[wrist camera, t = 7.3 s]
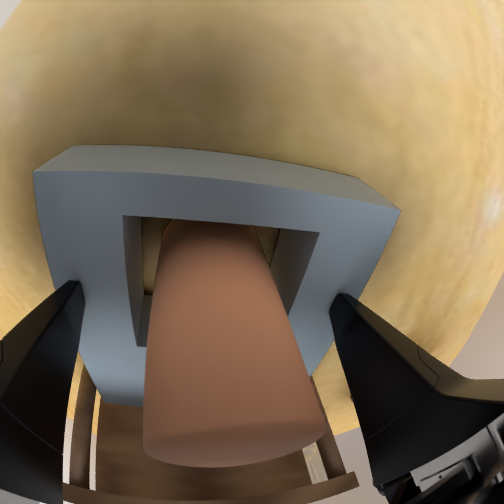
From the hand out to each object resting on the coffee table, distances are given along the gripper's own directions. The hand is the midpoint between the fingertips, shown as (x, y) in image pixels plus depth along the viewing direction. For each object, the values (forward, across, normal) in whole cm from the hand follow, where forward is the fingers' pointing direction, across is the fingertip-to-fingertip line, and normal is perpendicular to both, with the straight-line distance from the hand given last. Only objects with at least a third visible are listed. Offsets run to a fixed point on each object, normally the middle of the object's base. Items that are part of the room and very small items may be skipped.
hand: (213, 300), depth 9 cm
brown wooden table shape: (+3, 0, +10) cm, 11 cm away
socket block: (+3, 0, +2) cm, 4 cm away
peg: (+3, 0, 0) cm, 3 cm away
